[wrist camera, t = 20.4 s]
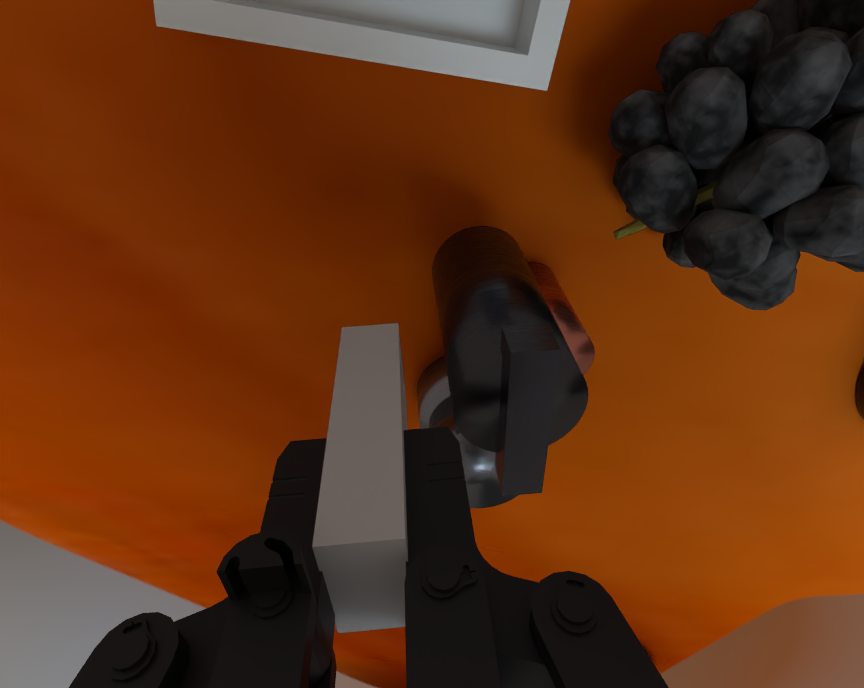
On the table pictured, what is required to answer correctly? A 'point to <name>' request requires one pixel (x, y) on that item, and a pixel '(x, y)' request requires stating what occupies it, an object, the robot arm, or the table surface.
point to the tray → (394, 32)
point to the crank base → (435, 376)
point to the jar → (860, 394)
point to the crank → (501, 366)
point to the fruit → (752, 147)
